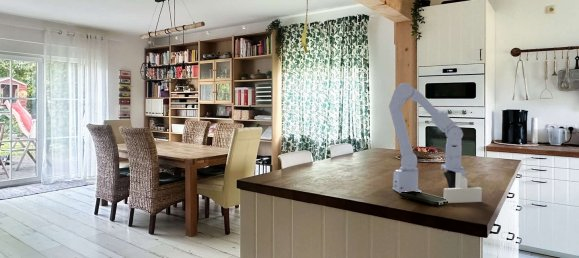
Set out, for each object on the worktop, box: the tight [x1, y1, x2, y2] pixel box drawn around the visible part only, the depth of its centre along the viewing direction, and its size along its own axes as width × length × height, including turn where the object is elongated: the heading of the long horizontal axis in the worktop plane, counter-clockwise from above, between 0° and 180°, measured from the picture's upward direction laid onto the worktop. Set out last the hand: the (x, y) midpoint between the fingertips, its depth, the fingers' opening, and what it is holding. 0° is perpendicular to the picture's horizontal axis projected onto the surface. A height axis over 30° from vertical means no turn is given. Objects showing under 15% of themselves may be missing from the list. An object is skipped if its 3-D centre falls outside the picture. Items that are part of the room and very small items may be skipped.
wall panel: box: [443, 186, 483, 204], centre depth 138 cm, size 14×2×5 cm, turn 97°
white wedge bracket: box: [455, 172, 468, 188], centre depth 143 cm, size 4×10×9 cm, turn 129°
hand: (452, 190), depth 150 cm, fingers closed
